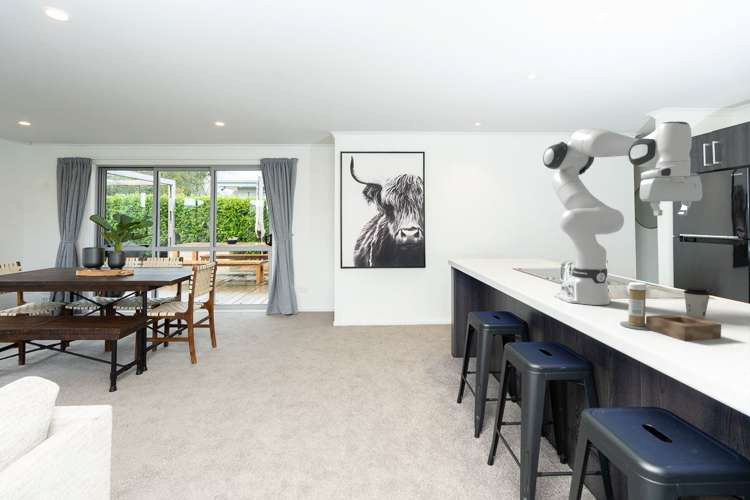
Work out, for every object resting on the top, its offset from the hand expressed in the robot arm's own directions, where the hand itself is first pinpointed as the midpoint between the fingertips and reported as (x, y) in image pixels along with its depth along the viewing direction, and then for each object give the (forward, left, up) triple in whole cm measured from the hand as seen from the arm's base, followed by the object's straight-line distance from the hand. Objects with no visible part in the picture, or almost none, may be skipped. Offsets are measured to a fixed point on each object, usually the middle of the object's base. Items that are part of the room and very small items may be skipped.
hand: (670, 215), depth 118 cm
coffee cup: (-2, +14, -35) cm, 38 cm away
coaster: (+3, -14, -35) cm, 38 cm away
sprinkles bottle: (+3, -14, -35) cm, 38 cm away
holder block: (+12, -8, -35) cm, 38 cm away
